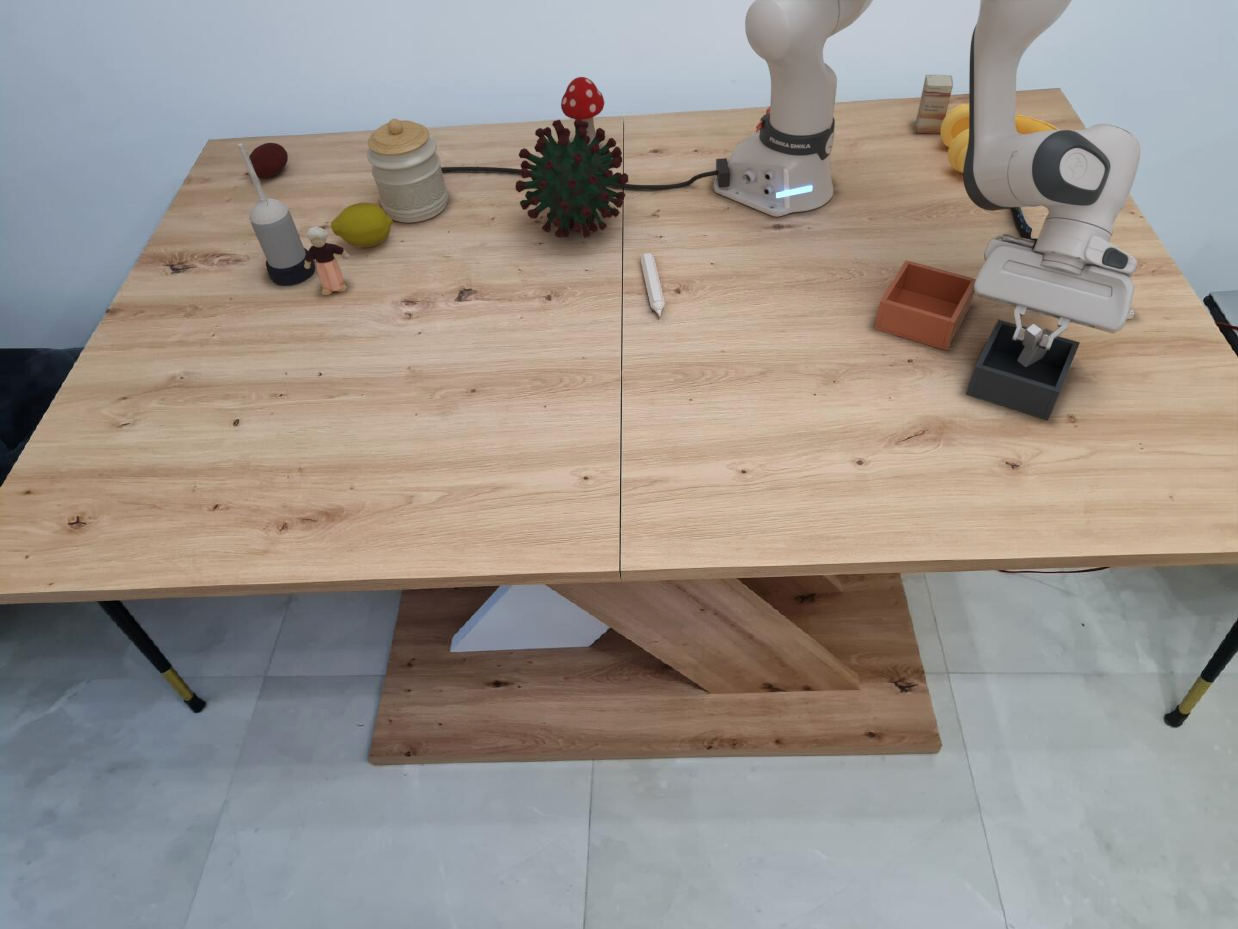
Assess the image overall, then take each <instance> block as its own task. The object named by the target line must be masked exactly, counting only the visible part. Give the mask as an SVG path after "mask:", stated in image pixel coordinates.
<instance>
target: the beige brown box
mask: <svg viewBox="0 0 1238 929" xmlns="http://www.w3.org/2000/svg"><path fill="white" fill-rule="evenodd" d="M953 81H954V80H953V75H951V74H950V75H949V74H925V77H924V81H923V86H922V91H921V95H920V100H919V105H918V109H917V114H916V118H915V131H916V134H934V135H935V134H938V135H939V134H940V135H941V124H942V121H943V119H944V118H945V116H946V115H947V113H948V108H949V105H950V104H949V103H950V100H951V95H952V92H953V88H954V82H953Z"/></svg>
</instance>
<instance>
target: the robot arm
mask: <svg viewBox="0 0 1238 929" xmlns="http://www.w3.org/2000/svg"><path fill="white" fill-rule="evenodd" d="M873 1H874V0H754V1H753V2H752V3H751V4H750V6H749V7H748V9H747V12H746V13H745V14H746V16H745V19H744V31H745V36H746V39H747V41H748V44H749V46H750V47H751V49H752V50H753V51H754V53H755V54H756V55H757V56H759V57H760V58H761V59H763V60H764V61H765V62H766V66H767V67H768V71H769V76H770V102H769V103H770V106H768V108H767V109H766V110H765V114H763V115H762V117H761V118H760V120H759V122H758V123H757V125H756V126H755V129H756V130H755V133H754V134H752V135H750V136H748V137H746V138H745V139H743V140H742V141H740V143H738V145H737V146H736V147H735V148H734V149H733V151H732V152H731V154H730V156H729V159H728V158H727V157H725V158H723V157H722V158H716V159H715V170H712V171H705V172H701V173H699V174H698V173H697V174H696V175H694V176H692V177H691V178H690V179H688V180H686V181H682V182H679V183H672V184H633V183H632V184H631V183H626V184H625V185H624V186H623V185H621V184H618V183H610V184H608V185H606V187H607V186H608V187H615V188H621V189H629V190H656V191H657V190H658V191H659V190H660V191H661V190H673V189H679V188H683V187H687V186H690V185H692V184H693V183H695V182H696V181H697V180H700V179H703V178H708V177H714V176H715V178H714V181H713V191H714V192H715V193H716V194H719V195H720V196H723V197H724V198H725V197H726V198H729V199H731V200H732V201H735V202H738V203H740V204H742V205H745V206H748V207H750V208H752V209H755V210H757V211H759V212H762V213H764V214H766V215H770V216H771V217H775V218H777V217H779V218H780V217H782V216H785V215H789V214H792V213H798V212H799V213H800V212H807V211H812V210H815V209H818V208H820V207H822V206H824V205H825V204H827V203H828V202H829V201H830V200H831V199H832V198H833V195H834V193H835V192H834V191H835V190H834V185H833V179H832V171H831V170H832V169H831V153H832V151H833V146H834V142H835V127H836V120H835V117H834V114H835V104H836V97H837V88H838V78H837V75H836V72H835V71H834V69H833V68H832V67H831V66H830V65H828V64H827V63H826V62H825V59H824V47H825V44H826V42H827V40H828V39H829V38H830V37H832V36H834V35H836V34H837V33H839V32H841V31H843V30H844V29H846V28H848V27H850V26H851V25H853V23H855V22H856V21H857V20H858V19H859V18H860V17H861V16H862V15H863V14H864V13H865V12H866V11H867V9H869V7H870V6H871V4H872V2H873ZM1071 2H1072V0H980V3H979V10H978V11H979V12H978V17H977V21H976V24H975V26H974V28H973V32H972V35H971V40H970V47H969V48H970V50H969V70H968V71H969V72H968V73H969V74H968V75H969V77H968V78H969V79H968V80H969V82H968V83H969V84H968V85H969V86H968V89H969V90H968V98H969V100H968V104H969V141H968V148H967V153H966V157H965V162H964V169H963V173H962V180H963V187H964V189H965V193H966V194H967V196H968V198H969V199H970V201H971V202H972V204H974V205H975V206H977V207H978V208H980V209H982V210H984V211H991V212H994V211H1001V210H1007V209H1011V208H1014V207H1020V208H1035V207H1044V208H1045V209H1047V210H1048V213H1047V215H1046V216H1045V218H1044V221H1043V224H1042V226H1041V229H1040V232H1039V234H1038V237H1037V238H1038V239H1037V240H1036V241H1034V240H1029V239H1025V238H1021V237H1018V236H1014V235H1012V234H1008V233H1003V234H1002V235H997V236H994V237H993V238H991V239H990V241H988V243H987V245H986V248H985V251H984V256H983V257H984V263H983V265H982V267H981V268H980V270H979V272H978V274H977V277H976V278H975V279H976V281H975V283H974V291H975V292H974V294H975V295H976V296H977V297H979V298H981V299H982V298H983V299H986V300H990V301H993V302H996V303H1000V304H1004V305H1008V306H1012V307H1015V308H1014V311H1013V316H1014V322H1015V323H1014V324H1016V331H1015V333H1014V336H1013V340H1015V341H1018V342H1022V343H1023V341H1024V338H1025V337H1024V333H1025V329H1024V328H1022V326H1023V325H1022V320H1021V317H1022V318H1024V317H1026V314H1027V312H1028V311H1030V312H1033V313H1036V314H1040V315H1045V316H1048V317H1052V318H1055V319H1058V321H1057V323H1056V327H1057V329H1056V330H1054V331H1052V334H1051V335H1050V336H1048V335H1045V334H1043V337H1042V341H1041V342H1040V344H1039V348H1043V349H1046V350H1050V347H1051V345H1052V342H1053V340H1054V339H1055V338H1057V337H1058V336H1059V337H1060V336H1061V335H1062V334H1063V333H1065V332H1066V331H1067V330H1068V327H1069V325H1070V323H1073V324H1077V325H1080V326H1083V327H1087V328H1091V329H1095V330H1099V331H1102V332H1106V333H1109V334H1116V333H1118V332H1120V331H1122V330H1123V328H1124V327H1125V325H1126V322H1127V320H1128V319H1127V317H1128V314H1129V310H1131V309H1130V307H1131V308H1132V302H1133V299H1134V298H1133V297H1134V293H1135V284H1134V281H1133V280H1132V277H1133V276H1134V275H1135V273H1136V271H1137V268H1138V260H1137V259H1136V258H1135V257H1134V256H1133V255H1131V254H1130V253H1128V252H1126V251H1124V250H1122V249H1121V248H1119V247H1118V246H1116V245H1115V244H1112V243H1111V240H1112V237H1113V234H1114V225H1115V223H1116V222H1115V221H1116V218H1117V217H1118V215H1119V214H1120V212H1122V210H1123V208H1124V207H1125V205H1126V203H1127V200H1128V197H1129V195H1130V193H1131V190H1132V188H1133V184H1134V182H1135V179H1136V175H1137V172H1138V169H1139V164H1140V159H1141V144H1140V141H1139V140H1138V138H1136V136H1134V135H1133V134H1132V133H1131V132H1129V131H1128V130H1126V129H1124V128H1121V127H1120V126H1119V127H1118V126H1115V125H1112V124H1107V123H1105V124H1104V123H1100V124H1099V123H1098V124H1094V125H1091V126H1089V127H1088V128H1084V129H1077V130H1070V129H1059V130H1049V131H1041V132H1035V133H1031V134H1020V133H1019V132H1017V130H1016V127H1015V114H1016V104H1017V103H1016V102H1017V101H1016V100H1017V73H1018V68H1019V64H1020V61H1021V59H1022V58H1023V55H1025V52H1026V51H1027V50H1028V48H1029V47H1030V46H1031V44H1033V43H1034V41H1035V40H1037V39H1038V37H1040V36H1041V35H1042V34H1044V33H1045V32H1046V31H1047V30H1048V29H1049V28H1051V26H1053V25H1054V24H1055V23H1056V22H1057V21H1058V20H1059V19H1060V18H1061V17H1062V15H1063V14H1064V12H1065V11H1066V10H1067V9H1068V7H1069V5H1070V4H1071ZM441 169H442V173H445V172H496V173H508V174H509V173H510V174H520V171H521V169H522V168H510V167H498V166H497V167H496V166H443V167H442V166H441ZM528 170H529V171H532V170H530V169H528ZM532 172H534V171H532ZM1032 250H1033V251H1032Z"/></svg>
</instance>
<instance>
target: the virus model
mask: <svg viewBox="0 0 1238 929" xmlns="http://www.w3.org/2000/svg"><path fill="white" fill-rule="evenodd" d="M551 124H552V125H551V126H552V128H554V131H555V133H556V136H557V141H556V140H555V138H554V137H553V134H552V133H553V132H552V128H551V127H549V126H545V127H544V128H542V127H539V128H537V129H536V130H535V132H534V135H535V136H536V137H538V139H537V141H536V143H535V145H534V148H533V149H534V150H535V153H539V154H540V155H541V156H542V157H540V156H538V155H535V154H533V153H531V152H530V151H529V150H528V149H527V148H524V147H523V148H521V149H520V150H519V152H518V157H519V159H525V160H522V162H521V163H520V166H519V167H520V169H521V171H520V173H519V174H520V177H521V179H528V178H530V179H531V180H527V181H523V180H520V179H519V180H516V181H515V190H516V192H518V193H519V194H520V193H521V192H523V191H526V190H527V191H526V193H525V194H524V198H525V199H521V200H520V201H519V204H520V207H521V210H528V211H527V212H526V214H527V216H528V217H529V218H530V219H535V220H536V219H538V217H539V215H540V214H541V213H542V212H544V211H545V210H546V209H549V211H548V212H547V213H546V218H547V220H546V222H545V223H544V224H543V225H542V226H541V230H542V231H543V232H545V233H547V234H549V233H550V231H551V230H552V225H553V226H554V227H555V228H557V229H556V231H555V232H554V237H556V238H560V239H561V238H569V237H570V230H569V229H572V231H573V232H574V233H575V234H580V233H581V232H582V237H583V238H584V239H586V238H590V237H591V236H592V233H596V232H597V231H598V229H599V230H601V231H604V230H605V229H607V228H608V225H607V223H606V222H605V221H603V220H602V219H607V218H609V219H611V218H612V217H614V218H617V217H618V216H619V215H620V214H621V212H620V210H619V209H621V208H622V206H623V205H624V200H625V197H626V194H625V192H623V191H618V192H617V191H615V190H613V189H610V188H608V187H607V186H606V185H608V184H610V183H618V184H621V185H623V186H624V185H625V184H628V183H629V174H628V173H626V172H623V173H622V172H618V171H617V172H615V173H613V170H611V169H619V168H620V167H622V164H623V156H622V154H623V153H622V149H621V148H620V147H619V146H617V141H616V140H615V138H613V137H610V138H609V139H608V140H607V141H606V143H605V144H604V145H603V146H602V147H601V146H600V147H599V143H600V144H601V143H602V142H604V141H605V140H606V130H604V128H602V127H598V128H595V132H596V135H595V137H594V139H593V140H592V142H591V143H590V144H589V142H590V137H589V136H588V135H587V132H588V131H587V128H588V122H585V121H582V120H578V119H577V120H575V119H574V121H573V125H574V137H573V139H572V140H571V141H570V136H571V130H570V128H567V127H565V126H564V124H563V122H562V121H561V119H556V120H553V122H552V123H551ZM588 144H589V145H588ZM611 148H613V149H612V150H610V149H611ZM527 160H528V161H527ZM529 161H530V162H531V163H530V162H529ZM532 163H533V164H532ZM529 170H531V171H529ZM532 171H534V172H532ZM531 190H532V191H531ZM609 203H612V204H613V205H614V206H615V207H616V208H615V207H612V206H611V205H610V204H609ZM530 206H533V207H534V208H532V209H528V208H529V207H530ZM598 211H599V213H600V215H601V217H600V215H599V213H598ZM601 218H602V219H601ZM595 220H596V222H597V223H598V225H597V224H596V223H595ZM587 223H588V225H587Z"/></svg>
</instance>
